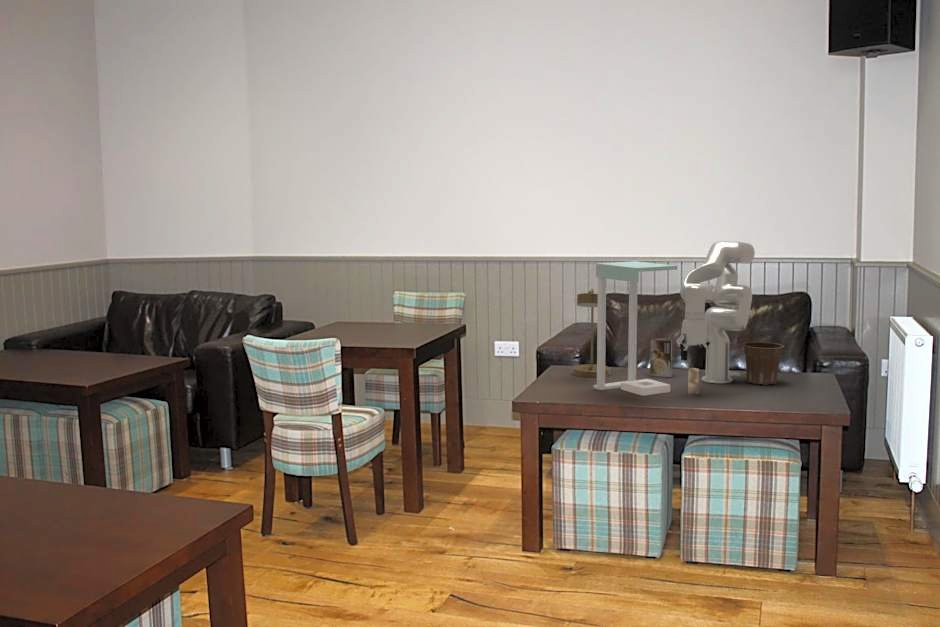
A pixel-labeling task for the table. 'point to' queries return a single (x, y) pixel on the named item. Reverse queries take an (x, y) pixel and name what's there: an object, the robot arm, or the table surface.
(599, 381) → the green-topped side table
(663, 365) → the coffee box
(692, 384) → the dowel
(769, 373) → the plant pot
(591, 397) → the table surface
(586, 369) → the lamp
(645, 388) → the socket
